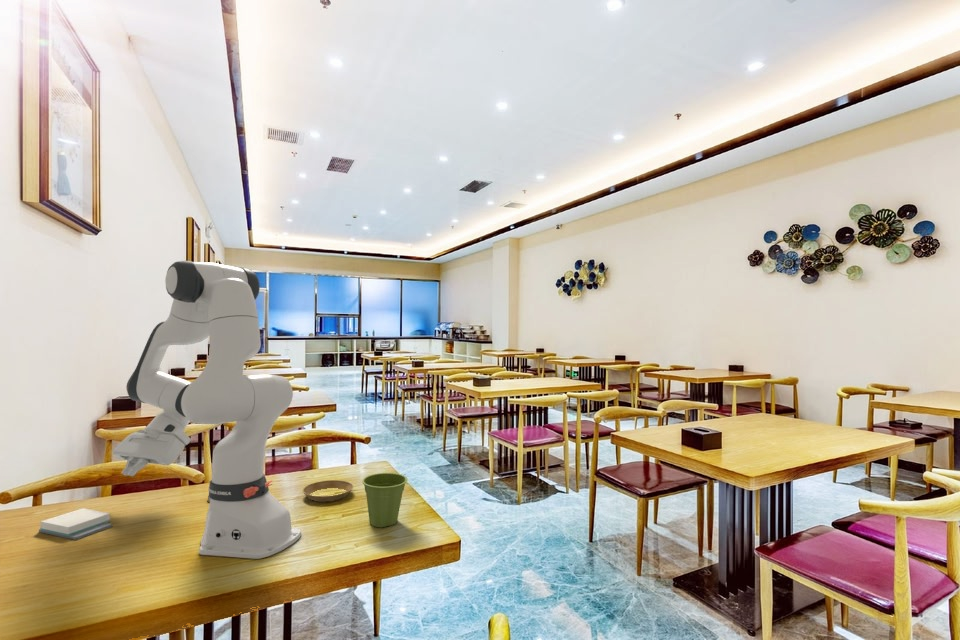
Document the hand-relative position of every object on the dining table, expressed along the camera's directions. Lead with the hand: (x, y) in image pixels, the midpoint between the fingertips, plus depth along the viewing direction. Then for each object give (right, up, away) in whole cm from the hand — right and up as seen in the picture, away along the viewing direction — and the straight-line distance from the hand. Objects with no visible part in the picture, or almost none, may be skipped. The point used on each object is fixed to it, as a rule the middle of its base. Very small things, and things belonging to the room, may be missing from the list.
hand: (126, 474), depth 122 cm
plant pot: (+72, -11, -4) cm, 73 cm away
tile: (-2, -8, -7) cm, 11 cm away
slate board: (-3, -9, -12) cm, 16 cm away
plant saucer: (+50, -12, +15) cm, 54 cm away
